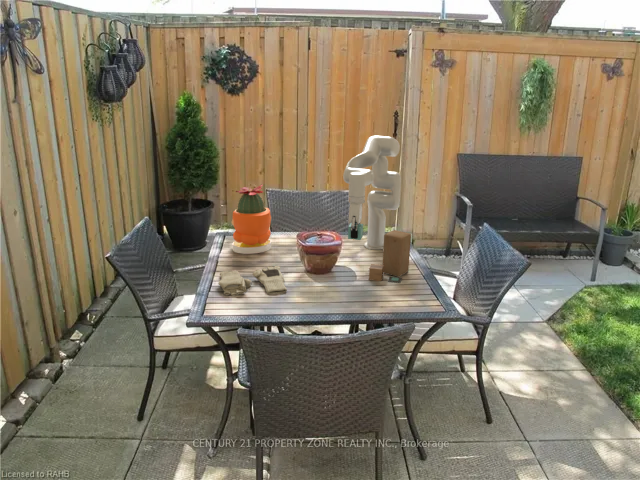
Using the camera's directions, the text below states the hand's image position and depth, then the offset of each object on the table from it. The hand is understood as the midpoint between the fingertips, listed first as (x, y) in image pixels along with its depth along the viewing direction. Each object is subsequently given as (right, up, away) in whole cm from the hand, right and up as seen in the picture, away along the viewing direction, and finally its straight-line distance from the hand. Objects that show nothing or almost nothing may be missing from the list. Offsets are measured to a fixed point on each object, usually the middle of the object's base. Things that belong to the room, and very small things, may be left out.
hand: (355, 235), depth 254 cm
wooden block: (+20, -18, +10) cm, 29 cm away
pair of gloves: (-48, -23, -6) cm, 54 cm away
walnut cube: (+10, -20, +2) cm, 23 cm away
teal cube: (0, -1, 0) cm, 1 cm away
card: (+19, -21, 0) cm, 28 cm away
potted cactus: (-53, -7, +38) cm, 66 cm away
